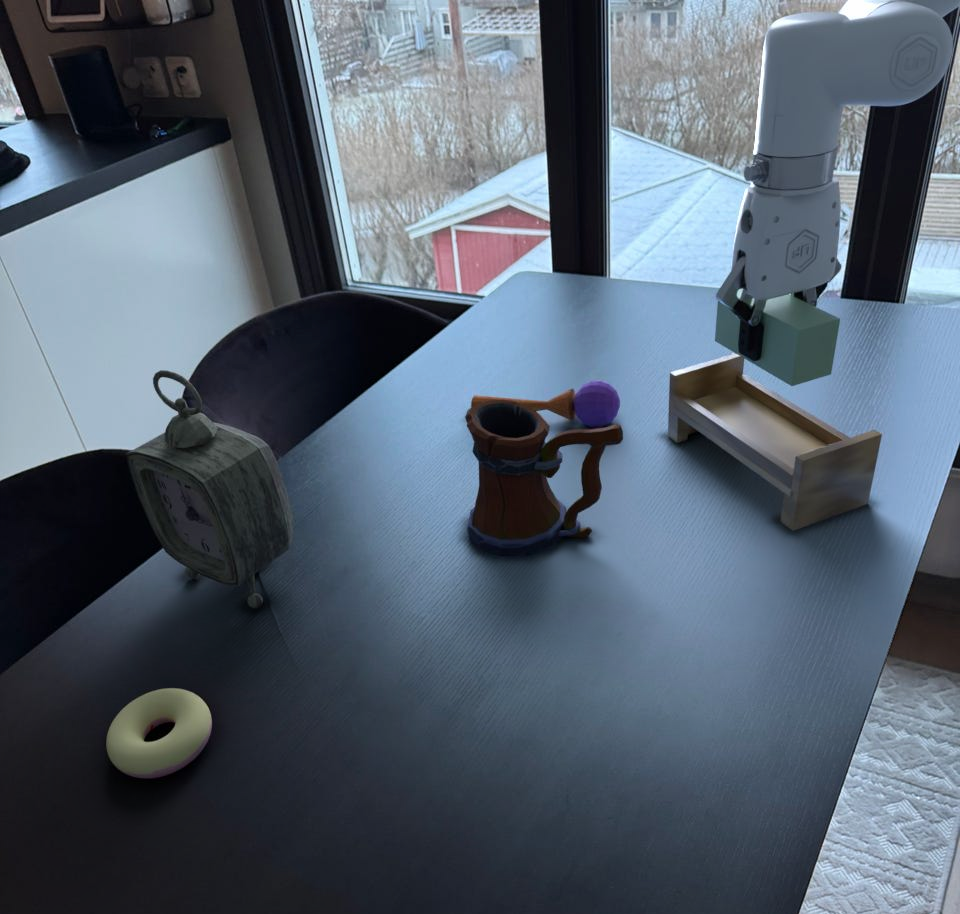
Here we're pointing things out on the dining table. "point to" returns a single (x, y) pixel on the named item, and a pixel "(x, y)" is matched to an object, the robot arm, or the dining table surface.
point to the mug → (527, 478)
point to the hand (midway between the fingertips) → (771, 348)
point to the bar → (786, 338)
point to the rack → (774, 439)
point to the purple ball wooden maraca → (575, 403)
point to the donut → (167, 751)
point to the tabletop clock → (212, 495)
